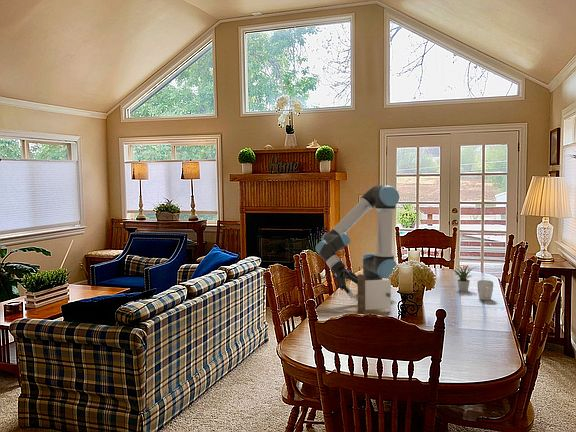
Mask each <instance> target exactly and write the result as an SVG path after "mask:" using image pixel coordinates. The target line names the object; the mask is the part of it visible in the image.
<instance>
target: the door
mask: <svg viewBox="0 0 576 432" xmlns="http://www.w3.org/2000/svg"><path fill="white" fill-rule="evenodd" d="M391 289H392V281H391V279H382V280H366V281H365V311H369V310H370V311H371V310H387V309H390V310H391V308H392V305H391V303H392V299H391V297H392V293H391V292H392V291H391Z"/></svg>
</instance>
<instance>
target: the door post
mask: <svg viewBox="0 0 576 432" xmlns="http://www.w3.org/2000/svg"><path fill="white" fill-rule="evenodd" d="M357 276H358V286H357V314H359V313H362V314H361V315H364V314H366V310H365V275H363V273H362V274H360V273H359V274H357Z"/></svg>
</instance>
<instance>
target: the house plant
mask: <svg viewBox="0 0 576 432" xmlns="http://www.w3.org/2000/svg"><path fill="white" fill-rule="evenodd" d="M462 266H463V268H462V267H461V265H457V267H458V268H459V269H458V268H457V267H456V266H454V268H455V269H453V271H454V272H455V273H454V274H455V275H456V276H457V277H458V278H459V279H457V285H458V286H457V287H458V291H459V292H468V291H469V288H470V287H469V286H470V280H469V278H473V277H474V275H473V274H469V273H471V271H472V270H473V269H476V266H474V267H470V266H469V265H466V266H465V265H464V264H463V265H462Z"/></svg>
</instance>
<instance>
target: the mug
mask: <svg viewBox="0 0 576 432" xmlns="http://www.w3.org/2000/svg"><path fill="white" fill-rule="evenodd" d="M476 286H477V293H478V299H479V300H482V301H491V300H492V296H493V289H494V281H491V280H488V279H487V280H485V279H484V280H483V279H481V280H477V285H476Z"/></svg>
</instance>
